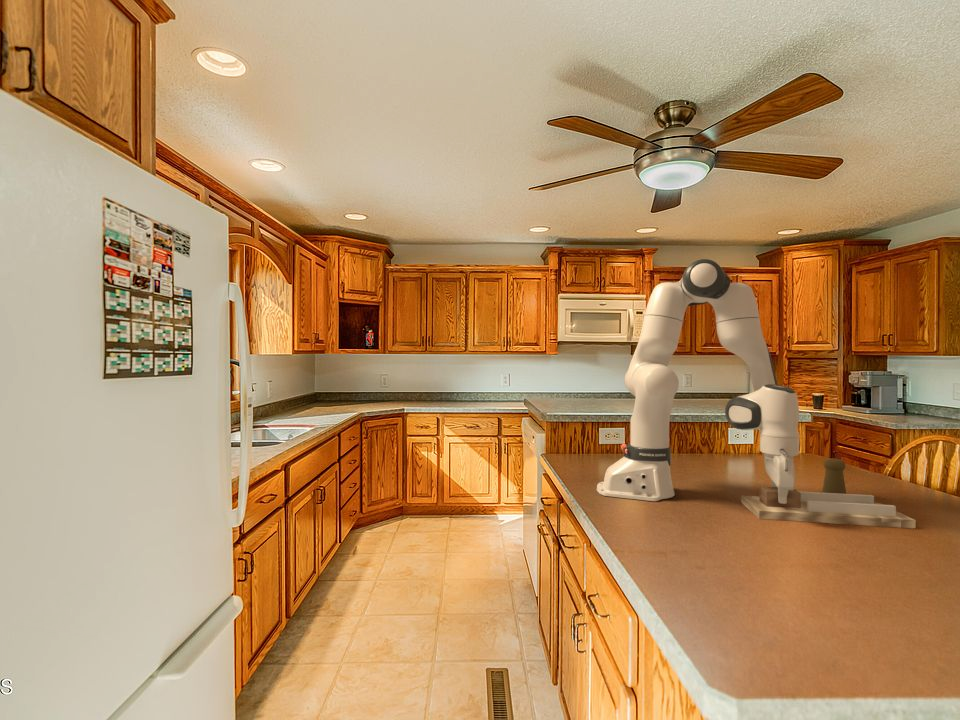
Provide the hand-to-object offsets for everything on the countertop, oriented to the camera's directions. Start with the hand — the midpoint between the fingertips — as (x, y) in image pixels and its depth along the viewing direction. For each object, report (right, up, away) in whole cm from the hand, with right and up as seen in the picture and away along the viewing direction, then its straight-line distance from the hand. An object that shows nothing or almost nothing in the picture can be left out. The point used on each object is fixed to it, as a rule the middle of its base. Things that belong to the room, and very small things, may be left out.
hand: (779, 498), depth 128 cm
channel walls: (+14, -2, -3) cm, 14 cm away
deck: (+9, -4, -2) cm, 10 cm away
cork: (+25, -4, +15) cm, 30 cm away
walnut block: (0, -2, 0) cm, 2 cm away
